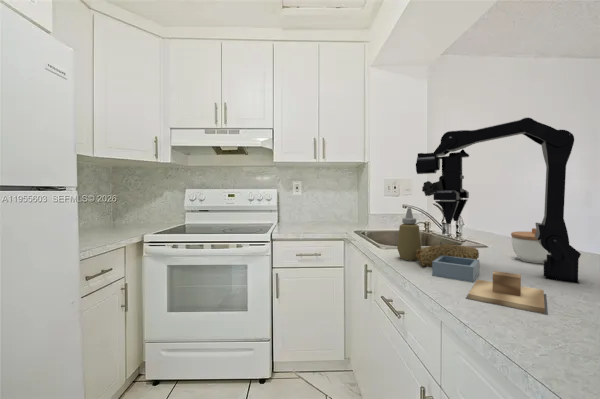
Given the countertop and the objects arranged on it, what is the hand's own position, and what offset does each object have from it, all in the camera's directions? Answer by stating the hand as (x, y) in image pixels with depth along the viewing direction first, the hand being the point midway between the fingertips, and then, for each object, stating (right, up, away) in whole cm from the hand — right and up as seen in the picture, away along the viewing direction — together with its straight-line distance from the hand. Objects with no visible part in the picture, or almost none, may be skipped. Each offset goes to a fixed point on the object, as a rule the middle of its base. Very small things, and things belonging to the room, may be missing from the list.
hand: (452, 222), depth 93 cm
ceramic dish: (-4, -15, -9) cm, 18 cm away
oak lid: (-2, -15, -27) cm, 30 cm away
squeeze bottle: (-9, -14, +12) cm, 21 cm away
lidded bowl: (+31, -14, +7) cm, 35 cm away
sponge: (+1, -15, +4) cm, 15 cm away
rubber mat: (-2, -15, -27) cm, 31 cm away
